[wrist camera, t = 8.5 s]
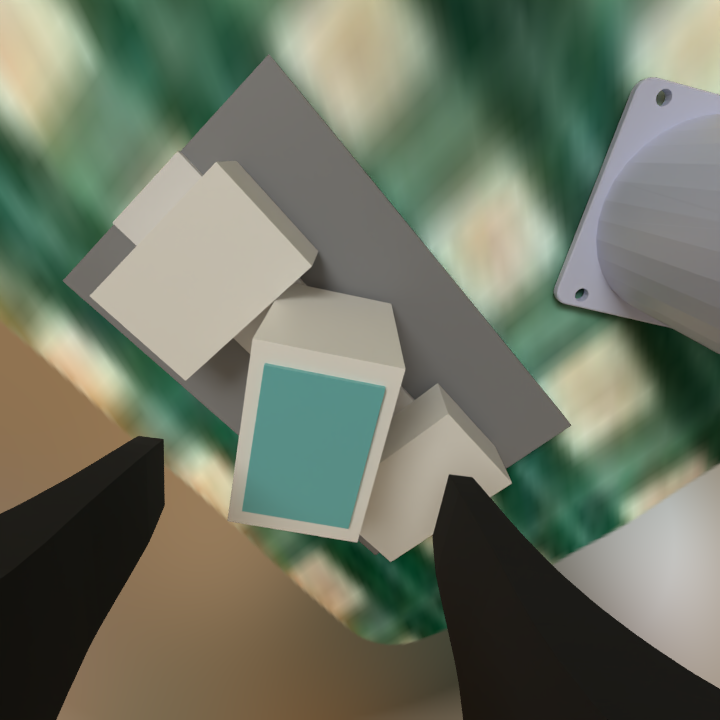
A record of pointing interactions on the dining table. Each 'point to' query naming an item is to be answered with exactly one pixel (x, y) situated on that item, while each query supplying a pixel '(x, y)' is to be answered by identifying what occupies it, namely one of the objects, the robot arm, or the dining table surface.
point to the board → (319, 270)
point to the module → (316, 413)
